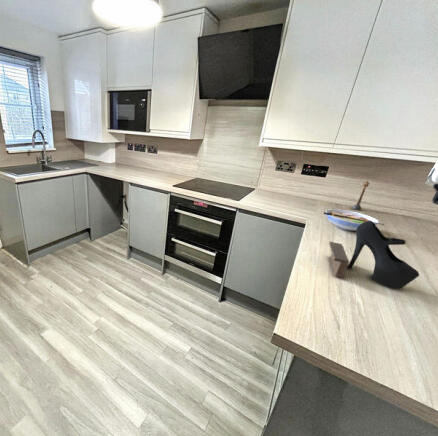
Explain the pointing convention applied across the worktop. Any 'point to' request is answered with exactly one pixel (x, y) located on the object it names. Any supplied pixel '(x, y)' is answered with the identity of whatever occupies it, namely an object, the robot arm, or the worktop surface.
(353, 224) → the ramen bowl
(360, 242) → the high-heeled shoe
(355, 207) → the wooden tabletop sculpture
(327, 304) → the worktop surface
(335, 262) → the shoe rack rail
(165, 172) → the worktop surface
